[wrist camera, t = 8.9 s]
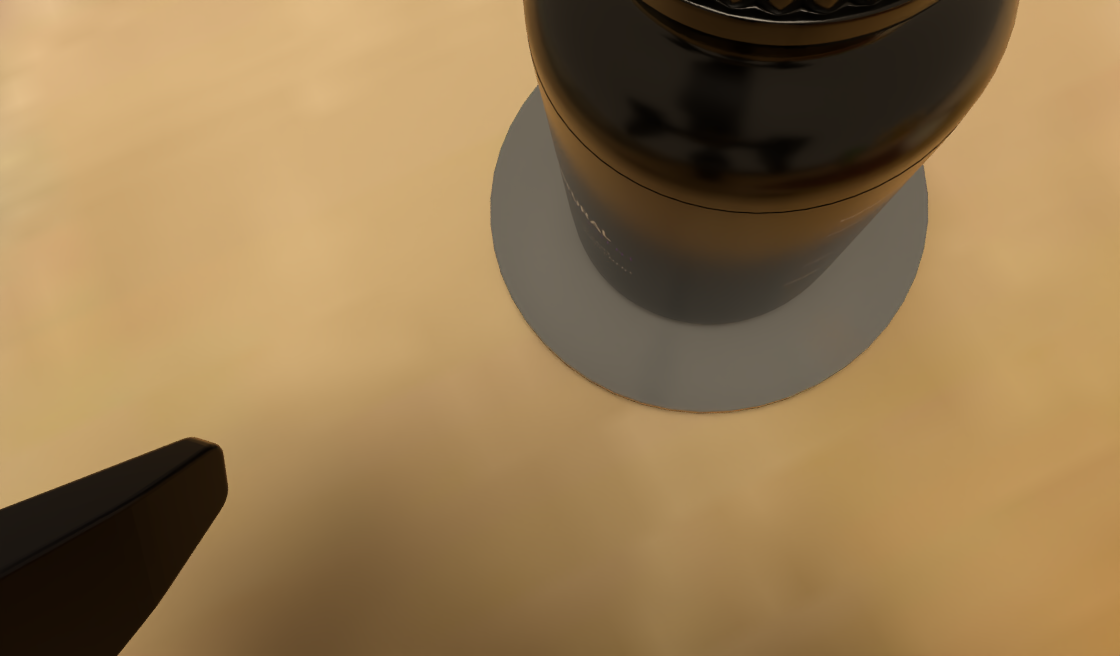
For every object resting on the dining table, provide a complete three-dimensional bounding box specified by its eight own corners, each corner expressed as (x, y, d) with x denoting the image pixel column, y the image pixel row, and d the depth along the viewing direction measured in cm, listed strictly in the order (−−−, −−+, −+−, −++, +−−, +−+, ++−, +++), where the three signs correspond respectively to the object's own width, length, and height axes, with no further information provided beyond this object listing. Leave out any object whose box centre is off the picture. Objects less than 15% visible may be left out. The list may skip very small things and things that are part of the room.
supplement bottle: (522, 244, 18) (305, -191, 6) (664, 41, 19) (695, -665, 7) (755, 387, 17) (1015, 156, 5) (898, 160, 17) (1405, -492, 6)
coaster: (827, 488, 16) (833, 488, 16) (426, 311, 19) (420, 305, 18) (978, 96, 18) (989, 83, 18) (594, -25, 20) (593, -40, 20)
